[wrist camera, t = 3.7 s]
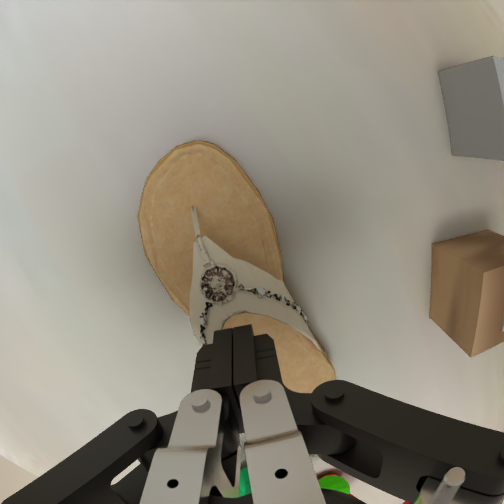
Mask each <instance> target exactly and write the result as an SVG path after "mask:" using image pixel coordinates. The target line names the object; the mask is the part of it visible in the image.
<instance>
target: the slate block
mask: <svg viewBox="0 0 504 504" xmlns="http://www.w3.org/2000/svg"><path fill="white" fill-rule="evenodd" d="M438 76H439V80H440V84H441V89H442V94H443V99H444V104H445V110H446V116H447V122H448V128H449V135H450V143H451V151H452V155H453V156H465V157H476V158H485V159H494V160H502V161H504V59H503V58H499V57H495V56H491V57H487V58H483V59H479V60H476V61H472V62H469V63H465V64H462V65H458V66H455V67H452V68H448V69H445V70H442V71H439V72H438Z"/></svg>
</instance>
